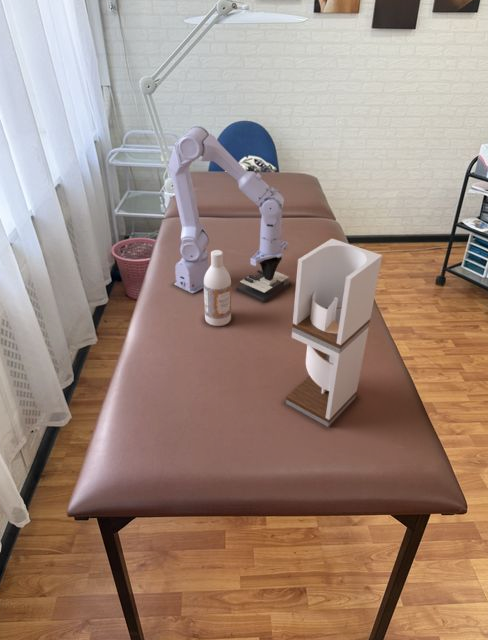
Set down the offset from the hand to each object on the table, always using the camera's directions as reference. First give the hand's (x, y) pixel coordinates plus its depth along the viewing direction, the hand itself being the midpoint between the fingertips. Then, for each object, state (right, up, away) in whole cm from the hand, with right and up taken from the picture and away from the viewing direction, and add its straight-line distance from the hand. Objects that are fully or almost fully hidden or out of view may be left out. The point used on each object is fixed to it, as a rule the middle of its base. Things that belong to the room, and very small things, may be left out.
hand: (268, 278), depth 147 cm
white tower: (+10, -29, -36) cm, 48 cm away
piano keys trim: (-1, 0, +1) cm, 2 cm away
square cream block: (0, -2, +1) cm, 2 cm away
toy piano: (-1, -2, +3) cm, 4 cm away
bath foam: (-14, -12, -11) cm, 21 cm away
